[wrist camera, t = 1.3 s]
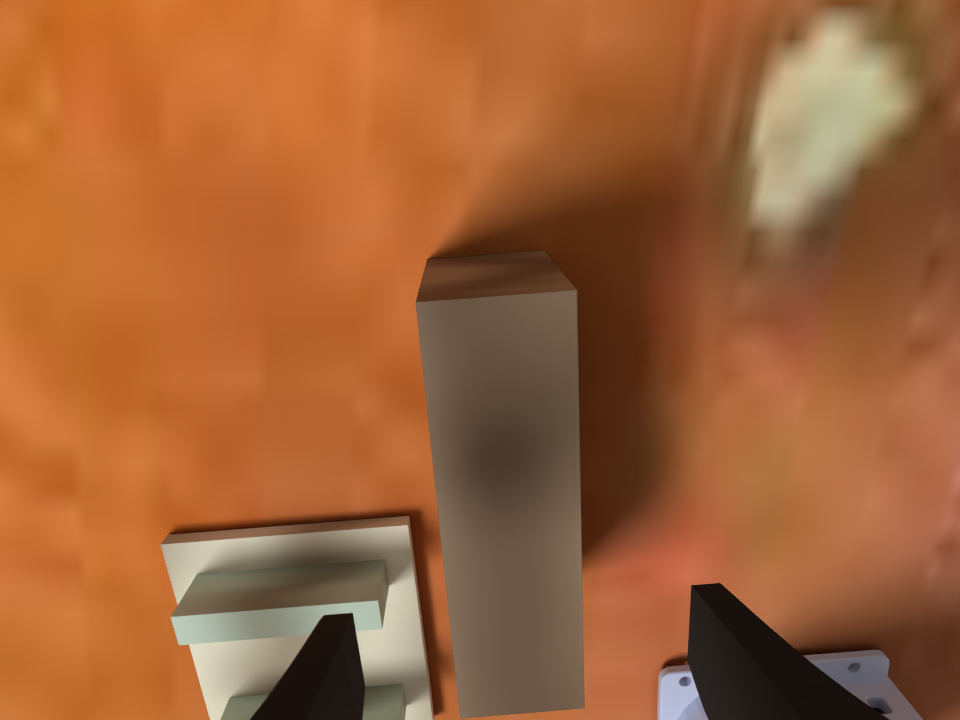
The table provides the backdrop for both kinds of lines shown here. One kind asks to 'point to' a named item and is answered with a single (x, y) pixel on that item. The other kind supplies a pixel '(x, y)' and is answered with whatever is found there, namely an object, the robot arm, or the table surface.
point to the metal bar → (507, 476)
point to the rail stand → (300, 609)
